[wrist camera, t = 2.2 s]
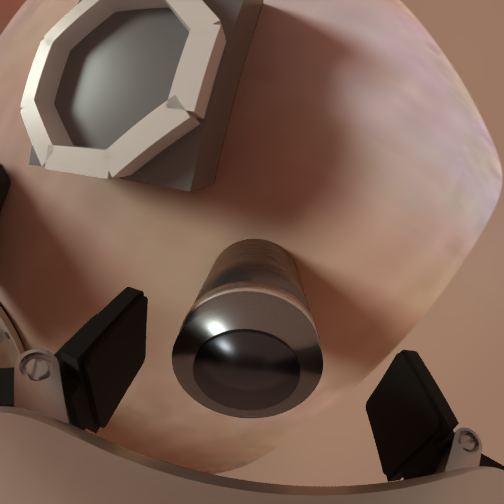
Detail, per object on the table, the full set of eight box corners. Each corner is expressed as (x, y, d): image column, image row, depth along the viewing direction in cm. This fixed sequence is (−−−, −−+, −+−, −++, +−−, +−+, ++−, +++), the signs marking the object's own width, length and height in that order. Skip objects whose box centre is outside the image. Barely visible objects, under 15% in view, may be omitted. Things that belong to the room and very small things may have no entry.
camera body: (213, 184, 15) (175, 196, 8) (82, 161, 15) (4, 166, 8) (263, 3, 11) (261, -68, 5) (132, 0, 11) (84, -47, 5)
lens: (285, 327, 17) (295, 430, 9) (203, 309, 17) (165, 405, 9) (310, 250, 16) (350, 327, 8) (219, 228, 16) (176, 289, 8)
